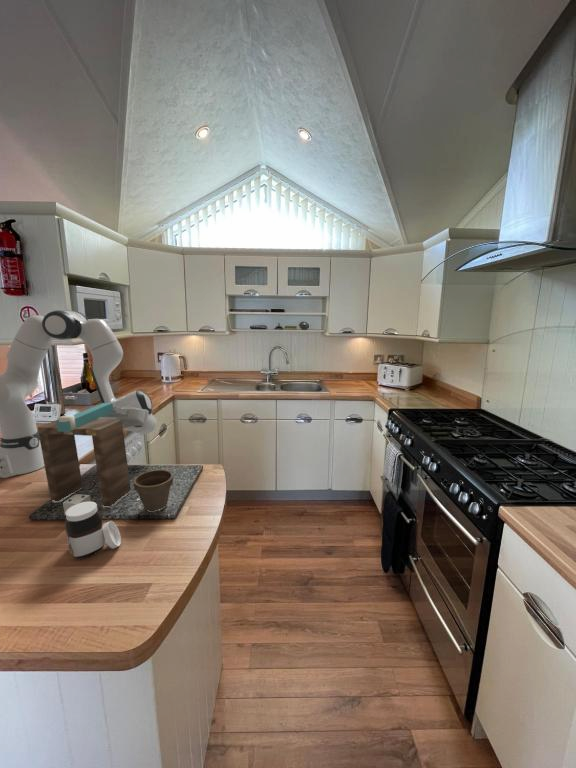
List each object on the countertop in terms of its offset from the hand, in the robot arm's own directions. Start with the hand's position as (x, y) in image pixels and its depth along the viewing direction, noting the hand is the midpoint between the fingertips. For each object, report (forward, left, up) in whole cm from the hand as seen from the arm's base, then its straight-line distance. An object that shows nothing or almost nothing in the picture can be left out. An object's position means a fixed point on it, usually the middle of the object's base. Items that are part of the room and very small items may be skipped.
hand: (102, 408), depth 117 cm
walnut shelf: (0, -10, -28) cm, 30 cm away
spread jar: (+20, -32, -28) cm, 47 cm away
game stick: (0, -7, -2) cm, 7 cm away
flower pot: (+25, -12, -28) cm, 40 cm away
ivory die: (+3, -19, -28) cm, 34 cm away
